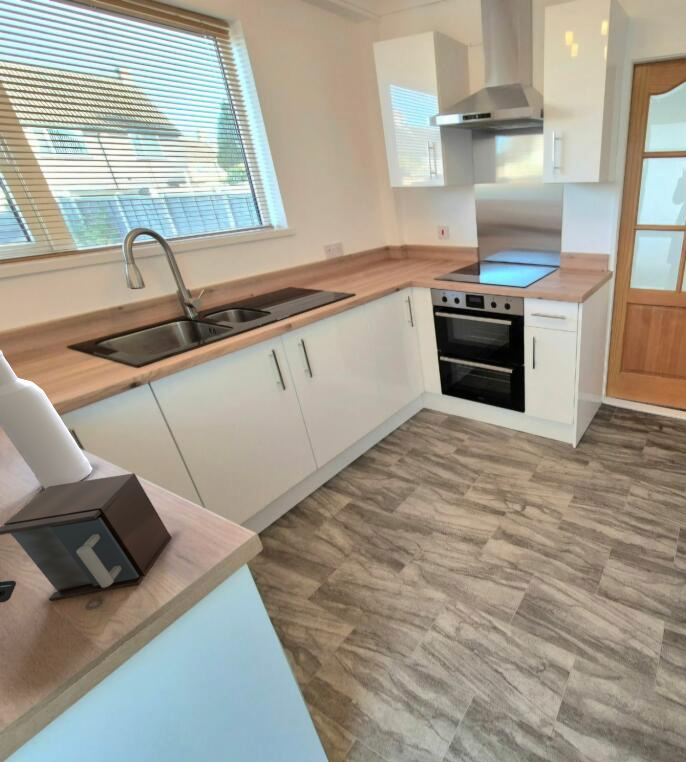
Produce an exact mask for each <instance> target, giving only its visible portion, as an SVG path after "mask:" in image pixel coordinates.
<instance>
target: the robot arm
mask: <svg viewBox="0 0 686 762" xmlns="http://www.w3.org/2000/svg"><path fill="white" fill-rule="evenodd" d="M16 585H17V581H16V580H11V579H3V580H0V603H5V602H8V601H9V600H10V599H11V597H12V595H13V593H14V590H15V588H16Z"/></svg>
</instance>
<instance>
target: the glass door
mask: <svg viewBox="0 0 686 762" xmlns="http://www.w3.org/2000/svg"><path fill="white" fill-rule="evenodd" d="M51 529H52V530H53V532H54V533H55V534H56V536H57V537H58V538H59V540H60V541H61V542H62V544H63V545H64V546H65V548H66V549H67V550H68V552H69V553H70V555H71V556H72V557H73V559H74V560H75V561H76V563H77V564H78V565H79V567H80V568H81V569H82V571H83V572H84V573H85V575H86V576H87V577H88V579H89V580H90V581H91V583H92V584H93V586H98V585H100V586H101V587H103V588H104V587H108V586H109V585H111V584H112V583H114V582H120V581H125V580H130V579H136V578H138V577H139V575H138V574H137V572H136V570H135V569H134V567H133V566H132V564H131V563H130V561H129V560H128V558H127V557H126V555H125V554H124V552H123V551H122V549H121V548H120V546H119V545H118V543H117V542H116V540H115V539H114V537H113V536H112V534H111V533H110V531H109V530H108V528H107V527H106V525H105V524H104V522H103V521H102V519H101V518H96V519H93V520H87V521H81V522H75V523H69V524H63V525H57V526H51Z"/></svg>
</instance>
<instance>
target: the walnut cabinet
mask: <svg viewBox="0 0 686 762" xmlns="http://www.w3.org/2000/svg"><path fill="white" fill-rule="evenodd" d="M96 518H101V519H102V521H103V522H104V524H105V525H106V527H107V528H108V530H109V531H110V533H111V534H112V536H113V537H114V539H115V540H116V542H117V543H118V545H119V546H120V548H121V549H122V551H123V552H124V554H125V555H126V557H127V558H128V560H129V561H130V563H131V564H132V566H133V567H134V569H135V570H136V572H137V574H138V575H139V577H138V578H136V579H130V580H125V581H120V582H114V583H112V584H111V585H109V586H108V587H104V588H103V587H101V586H100V585H98V586H93V584H92V583H91V581H90V580H89V579H88V577H87V576H86V575H85V573H84V572H83V571H82V569H81V568H80V567H79V565H78V564H77V563H76V561H75V560H74V559H73V557H72V556H71V555H70V553H69V552H68V550H67V549H66V548H65V546H64V545H63V544H62V542H61V541H60V540H59V538H58V537H57V536H56V534H55V533H54V532H53V530H52V529H51V526H57V525H63V524H69V523H75V522H81V521H87V520H93V519H96ZM9 534H11V536H12V537H13V538H14V540H15V541H16V542H17V543H18V544H19V546H20V547H21V549H23V550H24V552H25V553H26V554H27V556H28V557H29V558H30V559H31V561H32V562H33V563H34V564H35V566H36V567H37V568H38V569H39V570H40V572H41V573H42V574H43V575H44V577H45V578H46V579H47V580H48V581H49V583H50V584H51V586H52V587H53V588H54V589H55V590H56V591H54V592H53V593H52V594H51V595H50V596H49V597H48V601H49V602H54V601H60V600H65V599H70V598H71V599H72V598H76V597H81V596H87V595H92V594H98V593H103V592H107V591H108V592H109V591H113V590H120V589H124V588H129V587H130V588H131V587H134V586H139V585H140V584H141V583H142V581H143V580H144V577H146V576H147V574H148V573H149V571H150V570H151V568H152V567H153V566H154V564H155V563H156V562H157V560H158V558H159V557H160V555H161V554H162V553H163V551H164V550H165V548H166V547H167V545H168V544H169V543H170V540H171V539H172V536H171V534H170V533H169V531H168V529H167V528H166V525H165V524H164V522H163V520H162V519H161V517H160V515H159V514H158V512H157V510H156V508H155V506H154V505H153V503H152V501H151V500H150V498H149V496H148V494H147V492H146V491H145V489H144V487H143V486H142V484H141V482H140V481H139V479H138V477H137V475H136V473H134V472H133V473H126V474H120V475H113V476H106V477H100V478H93V479H86V480H81V481H79V482H74V483H67V484H61V485H54V486H49V487H47V488H46V489H45V488H44V490H42V491H41V492H40V493H39V494H38V495H37V496H35V497H34V498H33V499H31V500H30V501H29V502H28V503H27V504H26V505H24V506H23V507H22V508H21V509H20V510H19V511H17V512H16V513H15V514H14V515H13V516H11V517H10V518H9V519H8V520H6V521H5V522H4V523H3V525H0V536H2V535H9Z"/></svg>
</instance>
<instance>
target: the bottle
mask: <svg viewBox="0 0 686 762" xmlns="http://www.w3.org/2000/svg"><path fill="white" fill-rule="evenodd" d="M0 429H2V431H3V432H4V434H5V435H6V436H7V438H8V439H9V441H10V442H11V444H12V445H13V446H14V448H15V449H16V451H17V452H18V453H19V455H20V456H21V458H22V459H23V460H24V462H25V464H26V465H27V466H28V468H29V469H30V470H31V472H32V473H33V474H34V476H35V478H36V480H37V482H38V483H39V484H40V485H41V486H42V487H43V489H44V490H45V489H46V488H47V487H49V486H54V485H61V484H67V483H74V482H80V481H83V480H84V479H85V478H87V477H88V476H89V475H90V474H91V473H92V471H93V467H92V466H91V463H90V461H89V460H88V458H87V457H86V456H85V455H84V453H83V451H82V450H81V448H80V447H79V444H77V442H76V440H75V439H74V437H73V435H72V434H71V433H70V431H69V429H68V428H67V426H66V425H65V423H64V421H63V420H62V418H61V416H60V415H59V413H58V412H57V410H56V409H55V407H54V405H53V404H52V402H51V401H50V399H49V398H48V396H47V394H46V393H45V391H44V390H43V389H42V388H41V387H40V386H38V385H37V384H36V383H34V382H32V381H31V380H26V379H23V378H19V377H18V376H17V375H16V373H15V372H14V370H13V369H12V367H11V365H10V364H9V362H8V361H7V359H6V358H5V356H4V352H3V351H2V350H1V349H0Z"/></svg>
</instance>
